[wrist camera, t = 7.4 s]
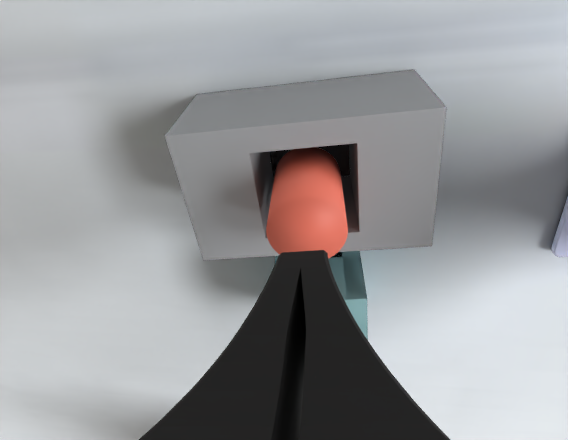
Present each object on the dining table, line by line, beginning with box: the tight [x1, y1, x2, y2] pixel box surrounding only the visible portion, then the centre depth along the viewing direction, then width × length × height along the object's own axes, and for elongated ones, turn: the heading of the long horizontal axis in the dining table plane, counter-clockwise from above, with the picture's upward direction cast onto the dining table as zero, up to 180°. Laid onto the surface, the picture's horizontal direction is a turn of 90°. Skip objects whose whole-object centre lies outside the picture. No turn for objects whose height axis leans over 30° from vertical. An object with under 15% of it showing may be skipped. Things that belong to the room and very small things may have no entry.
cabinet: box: [165, 70, 446, 260], centre depth 18 cm, size 10×6×5 cm, turn 97°
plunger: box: [266, 147, 348, 259], centre depth 15 cm, size 3×3×4 cm
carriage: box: [275, 251, 368, 340], centre depth 22 cm, size 4×6×5 cm
